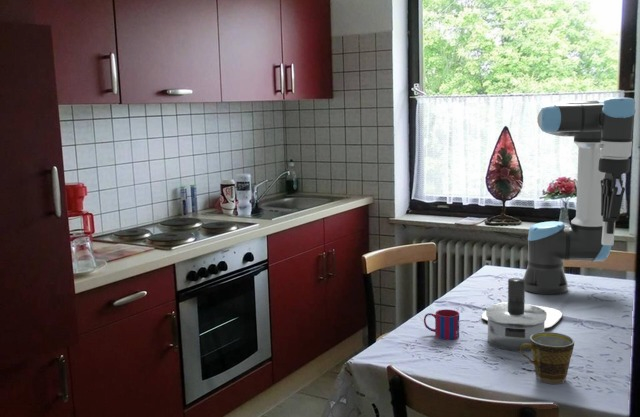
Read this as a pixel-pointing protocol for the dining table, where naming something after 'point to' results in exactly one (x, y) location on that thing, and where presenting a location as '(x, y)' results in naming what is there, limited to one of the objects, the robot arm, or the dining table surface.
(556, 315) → the plate
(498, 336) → the pot
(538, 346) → the ceramic cup
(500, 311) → the lid
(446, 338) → the cup
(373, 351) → the dining table surface
